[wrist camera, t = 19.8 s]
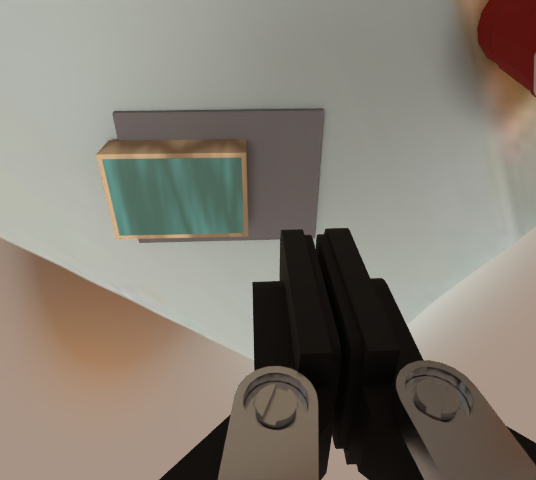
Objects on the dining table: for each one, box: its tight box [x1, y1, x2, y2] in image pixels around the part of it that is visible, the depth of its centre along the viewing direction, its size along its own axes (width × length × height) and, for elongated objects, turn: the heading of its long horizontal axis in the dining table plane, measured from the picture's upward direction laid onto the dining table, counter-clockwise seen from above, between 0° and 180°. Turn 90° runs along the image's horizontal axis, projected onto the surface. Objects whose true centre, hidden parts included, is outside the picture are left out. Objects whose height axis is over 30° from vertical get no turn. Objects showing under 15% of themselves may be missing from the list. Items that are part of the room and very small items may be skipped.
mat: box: [113, 109, 324, 243], centre depth 38 cm, size 18×13×1 cm
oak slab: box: [96, 139, 248, 239], centre depth 36 cm, size 4×8×12 cm
